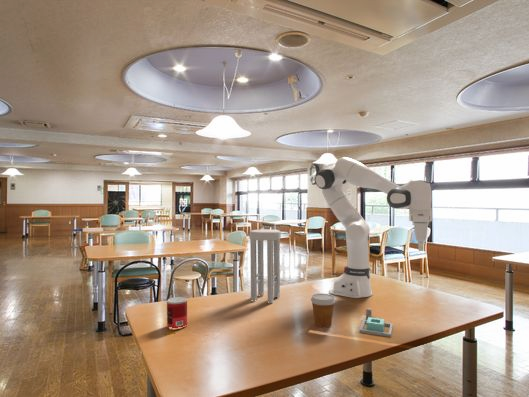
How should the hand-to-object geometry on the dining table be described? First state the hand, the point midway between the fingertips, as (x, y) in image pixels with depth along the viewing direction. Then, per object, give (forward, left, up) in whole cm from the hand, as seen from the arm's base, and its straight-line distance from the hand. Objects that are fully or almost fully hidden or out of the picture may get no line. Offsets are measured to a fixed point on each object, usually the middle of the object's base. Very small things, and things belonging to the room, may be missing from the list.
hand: (420, 249), depth 142 cm
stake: (-20, -14, -29) cm, 38 cm away
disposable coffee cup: (-36, -27, -29) cm, 54 cm away
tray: (-16, -24, -29) cm, 41 cm away
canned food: (-90, -50, -29) cm, 107 cm away
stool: (-72, -3, -29) cm, 78 cm away
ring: (-16, -24, -28) cm, 41 cm away
